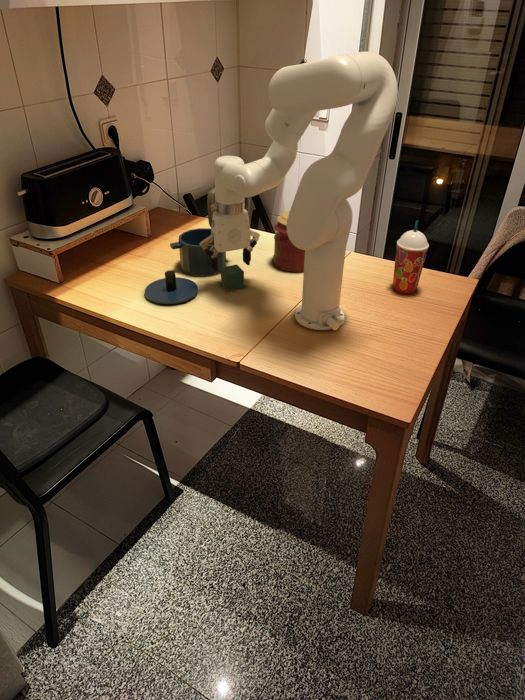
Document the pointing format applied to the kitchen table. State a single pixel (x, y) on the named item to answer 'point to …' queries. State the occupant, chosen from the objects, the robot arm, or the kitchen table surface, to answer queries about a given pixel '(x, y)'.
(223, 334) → the kitchen table surface
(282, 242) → the kitchen canister
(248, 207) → the tabletop clock
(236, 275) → the block
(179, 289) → the lid
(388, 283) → the kitchen table surface
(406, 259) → the smoothie
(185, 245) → the pot
